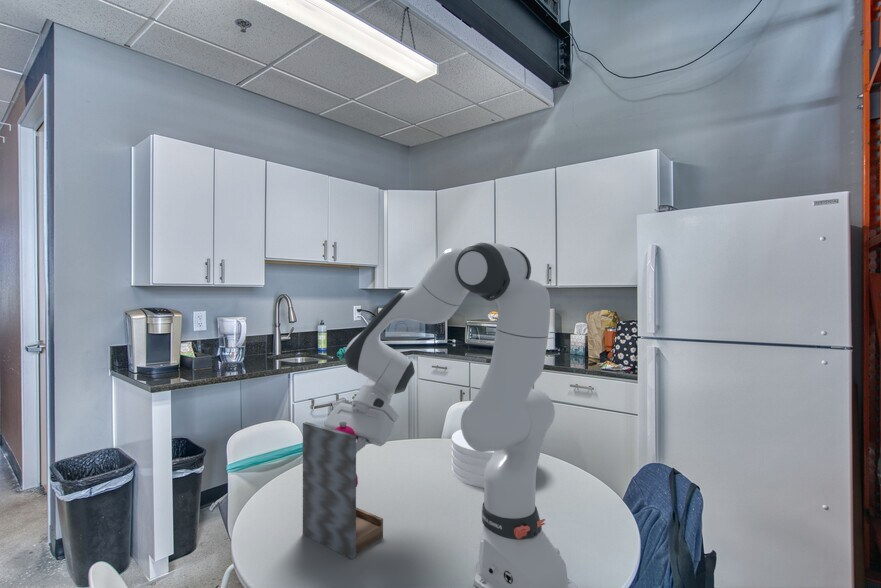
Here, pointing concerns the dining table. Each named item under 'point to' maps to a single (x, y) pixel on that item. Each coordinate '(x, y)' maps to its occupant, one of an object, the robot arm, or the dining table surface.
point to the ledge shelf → (334, 493)
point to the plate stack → (468, 461)
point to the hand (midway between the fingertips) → (341, 452)
